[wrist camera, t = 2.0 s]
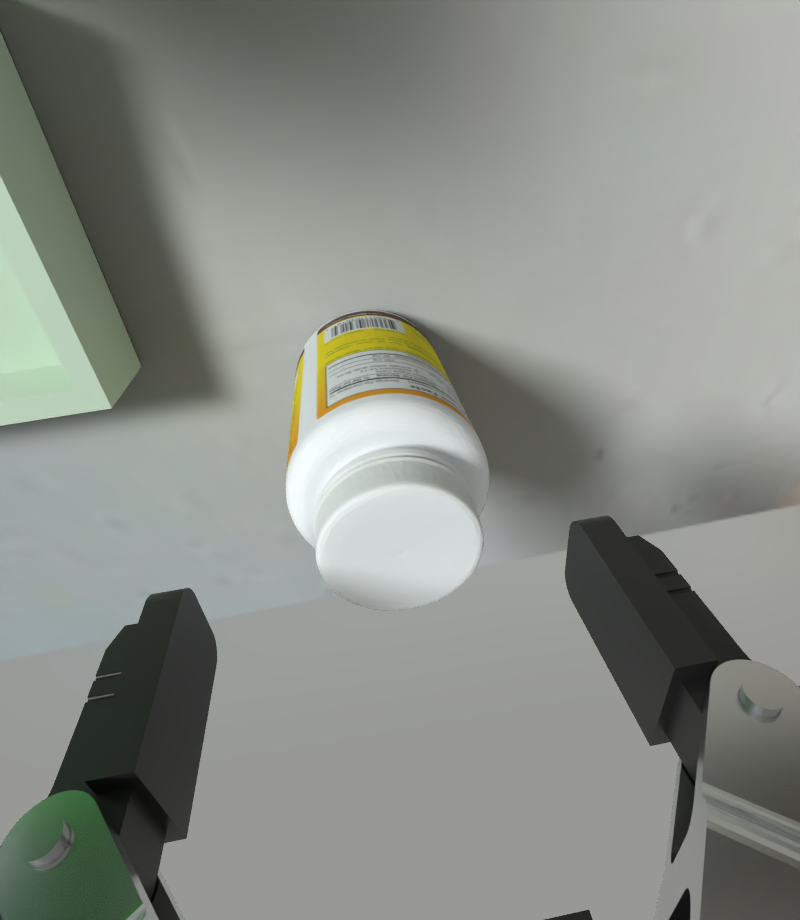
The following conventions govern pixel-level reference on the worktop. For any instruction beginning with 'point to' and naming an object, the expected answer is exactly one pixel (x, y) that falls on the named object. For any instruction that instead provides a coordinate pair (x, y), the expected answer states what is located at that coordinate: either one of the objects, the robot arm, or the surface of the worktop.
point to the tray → (49, 282)
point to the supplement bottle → (384, 464)
